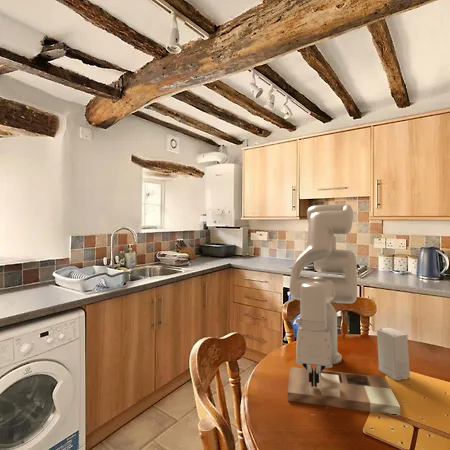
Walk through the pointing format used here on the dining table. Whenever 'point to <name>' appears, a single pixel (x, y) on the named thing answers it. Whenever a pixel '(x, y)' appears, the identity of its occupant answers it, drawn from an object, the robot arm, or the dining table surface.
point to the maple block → (330, 385)
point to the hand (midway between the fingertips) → (313, 384)
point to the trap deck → (345, 392)
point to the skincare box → (393, 353)
